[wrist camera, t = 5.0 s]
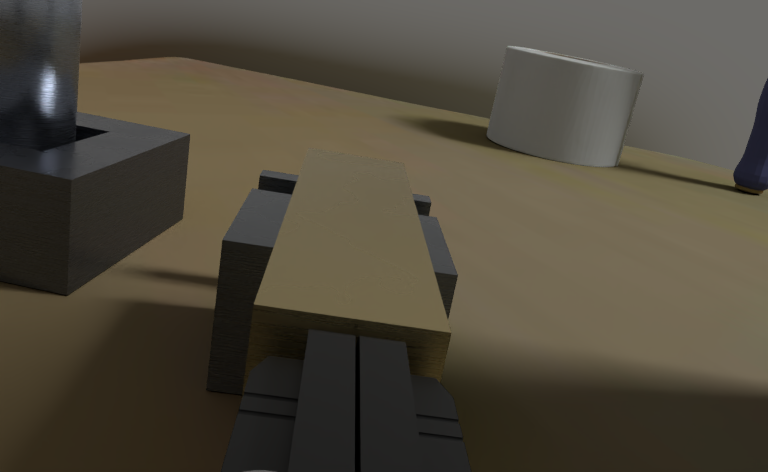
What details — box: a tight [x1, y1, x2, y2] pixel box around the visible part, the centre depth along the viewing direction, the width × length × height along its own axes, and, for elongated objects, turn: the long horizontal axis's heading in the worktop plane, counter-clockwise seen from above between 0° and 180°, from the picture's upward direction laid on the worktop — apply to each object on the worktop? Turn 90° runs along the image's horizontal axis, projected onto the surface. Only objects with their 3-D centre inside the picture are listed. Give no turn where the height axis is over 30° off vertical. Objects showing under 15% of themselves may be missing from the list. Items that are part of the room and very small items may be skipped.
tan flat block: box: [241, 148, 451, 401], centre depth 17 cm, size 12×3×8 cm, turn 2°
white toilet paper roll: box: [487, 46, 644, 167], centre depth 81 cm, size 16×15×11 cm
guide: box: [206, 170, 458, 395], centre depth 26 cm, size 9×7×5 cm
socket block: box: [0, 112, 190, 295], centre depth 31 cm, size 11×11×4 cm
